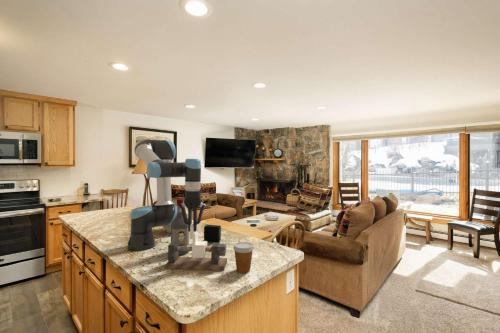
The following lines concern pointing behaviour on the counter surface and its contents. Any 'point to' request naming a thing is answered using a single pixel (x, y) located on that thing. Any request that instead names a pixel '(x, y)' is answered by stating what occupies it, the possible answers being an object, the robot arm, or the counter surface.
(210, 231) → the electronic device
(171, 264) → the rail stand
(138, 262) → the counter surface
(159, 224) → the robot arm
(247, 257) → the disposable coffee cup
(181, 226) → the liquor
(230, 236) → the counter surface
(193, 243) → the white l-shaped block
